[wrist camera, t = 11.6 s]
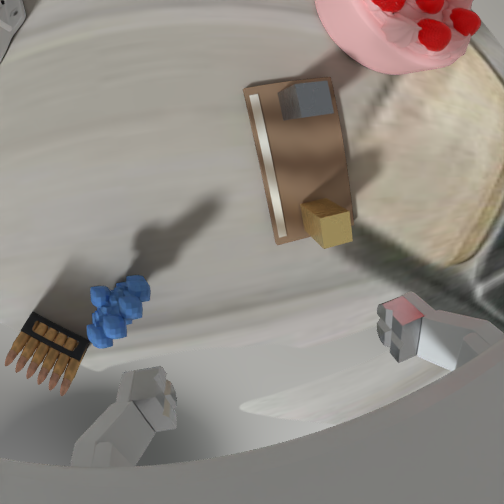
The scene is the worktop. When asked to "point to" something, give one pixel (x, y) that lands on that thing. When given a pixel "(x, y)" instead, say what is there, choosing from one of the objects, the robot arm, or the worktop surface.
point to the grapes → (116, 309)
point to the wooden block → (326, 222)
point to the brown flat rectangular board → (297, 158)
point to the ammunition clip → (48, 351)
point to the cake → (400, 32)
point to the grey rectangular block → (305, 100)
